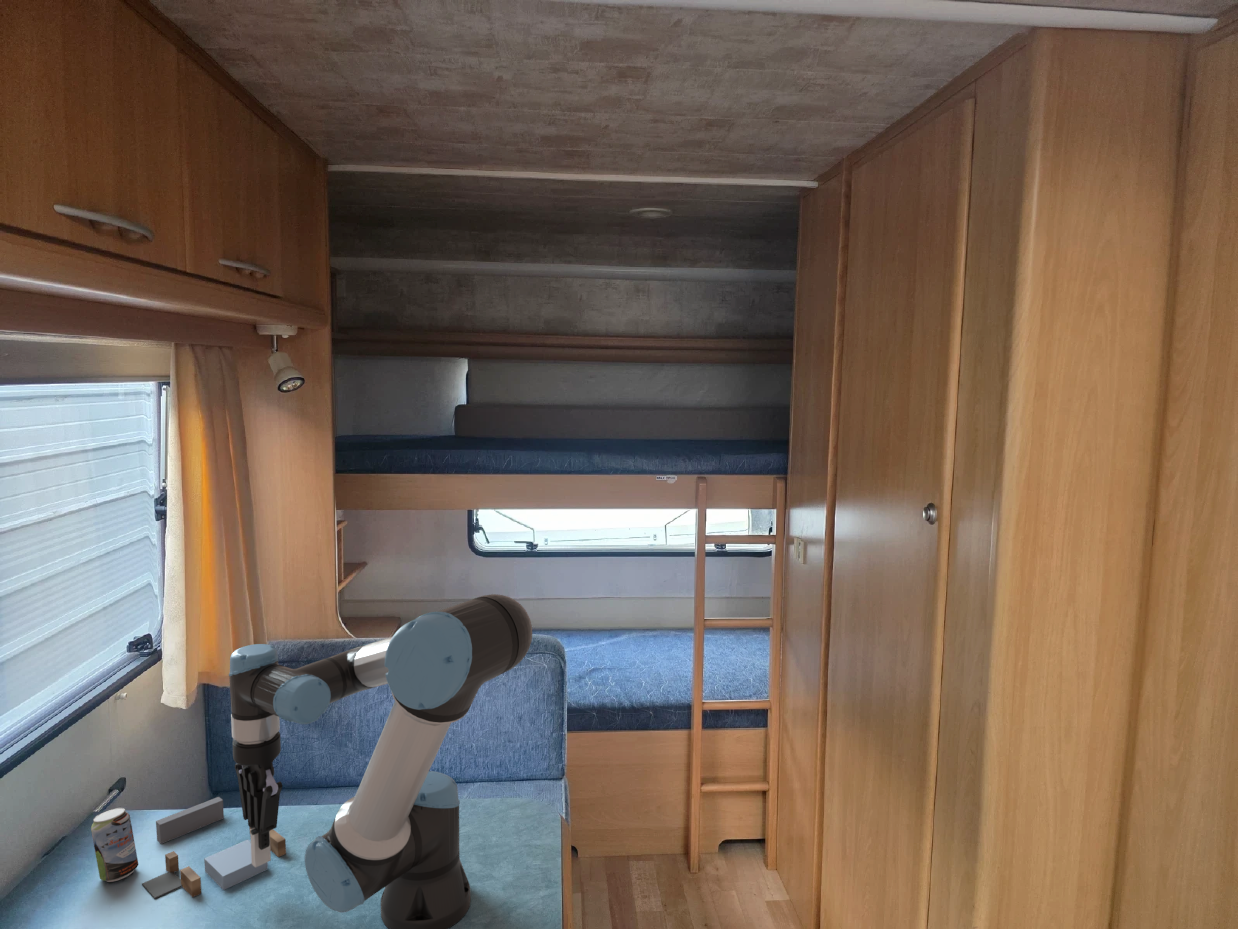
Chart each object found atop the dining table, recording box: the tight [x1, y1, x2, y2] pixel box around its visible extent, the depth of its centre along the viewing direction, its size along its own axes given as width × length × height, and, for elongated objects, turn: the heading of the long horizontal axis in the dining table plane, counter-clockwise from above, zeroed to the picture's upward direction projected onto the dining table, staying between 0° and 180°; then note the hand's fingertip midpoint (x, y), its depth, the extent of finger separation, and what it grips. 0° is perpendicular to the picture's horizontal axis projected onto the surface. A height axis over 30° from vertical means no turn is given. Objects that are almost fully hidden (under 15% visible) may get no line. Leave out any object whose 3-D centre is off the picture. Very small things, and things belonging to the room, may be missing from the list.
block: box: [204, 839, 269, 891], centre depth 146 cm, size 8×8×3 cm
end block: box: [155, 796, 225, 845], centre depth 159 cm, size 2×12×4 cm, turn 139°
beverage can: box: [90, 807, 139, 883], centre depth 144 cm, size 6×7×12 cm
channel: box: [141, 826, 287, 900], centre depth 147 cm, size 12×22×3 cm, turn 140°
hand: (261, 862), depth 139 cm, fingers closed
